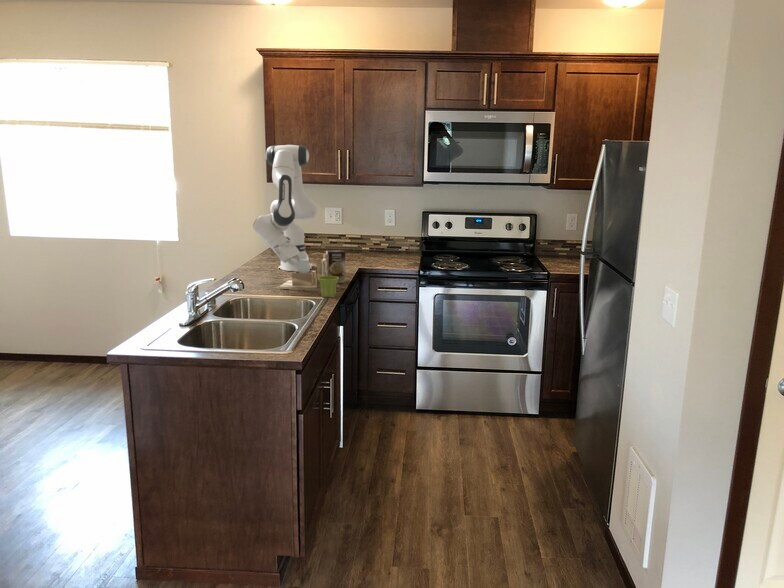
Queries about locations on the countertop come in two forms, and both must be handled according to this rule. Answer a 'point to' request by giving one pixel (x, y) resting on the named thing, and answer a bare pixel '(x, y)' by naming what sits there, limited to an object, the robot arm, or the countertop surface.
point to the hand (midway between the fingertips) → (299, 264)
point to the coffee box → (336, 264)
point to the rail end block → (304, 266)
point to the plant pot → (328, 285)
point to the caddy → (308, 277)
